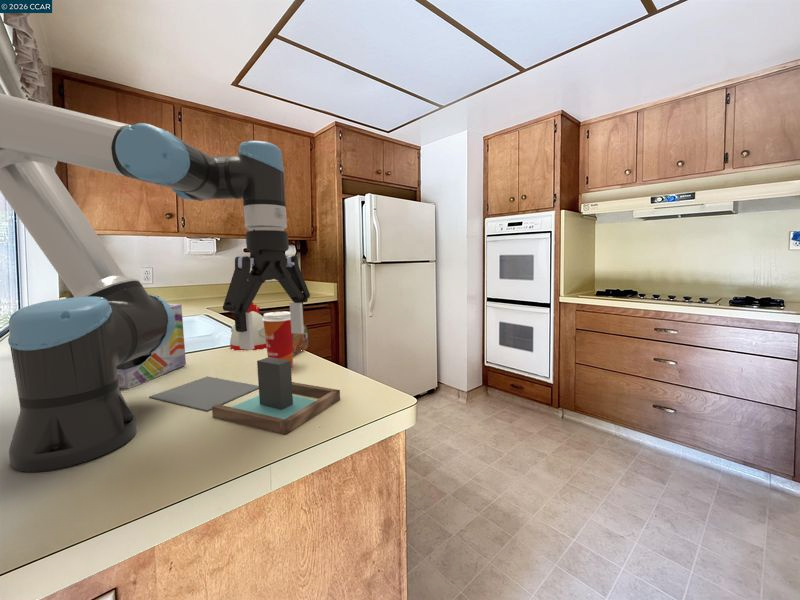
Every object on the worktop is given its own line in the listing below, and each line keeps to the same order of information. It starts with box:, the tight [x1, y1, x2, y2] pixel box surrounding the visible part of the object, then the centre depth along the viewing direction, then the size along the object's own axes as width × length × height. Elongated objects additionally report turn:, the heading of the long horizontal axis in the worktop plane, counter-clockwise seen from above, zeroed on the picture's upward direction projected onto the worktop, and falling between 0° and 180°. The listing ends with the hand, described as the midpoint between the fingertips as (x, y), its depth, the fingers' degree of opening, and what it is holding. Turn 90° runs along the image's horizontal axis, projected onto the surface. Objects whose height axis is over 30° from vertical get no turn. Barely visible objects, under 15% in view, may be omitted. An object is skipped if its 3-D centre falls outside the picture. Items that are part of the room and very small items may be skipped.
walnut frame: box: [211, 381, 341, 435], centre depth 72 cm, size 16×18×2 cm
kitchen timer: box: [229, 302, 267, 351], centre depth 122 cm, size 14×14×15 cm
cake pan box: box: [117, 302, 187, 390], centre depth 91 cm, size 19×5×18 cm, turn 170°
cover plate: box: [231, 356, 316, 419], centre depth 72 cm, size 10×14×10 cm
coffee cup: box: [262, 311, 294, 369], centre depth 96 cm, size 8×8×15 cm
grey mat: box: [149, 376, 259, 412], centre depth 80 cm, size 14×18×1 cm
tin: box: [293, 323, 310, 358], centre depth 112 cm, size 15×3×8 cm, turn 168°
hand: (274, 340), depth 71 cm, fingers open, 13 cm apart
